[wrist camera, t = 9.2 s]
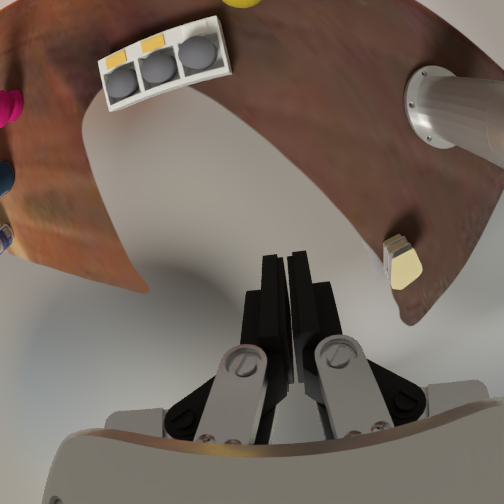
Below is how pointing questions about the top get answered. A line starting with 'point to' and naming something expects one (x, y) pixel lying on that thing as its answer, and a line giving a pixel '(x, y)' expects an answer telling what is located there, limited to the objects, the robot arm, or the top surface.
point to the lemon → (241, 3)
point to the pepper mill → (10, 106)
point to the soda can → (6, 178)
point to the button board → (168, 45)
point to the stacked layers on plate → (396, 262)
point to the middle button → (159, 68)
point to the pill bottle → (5, 237)
